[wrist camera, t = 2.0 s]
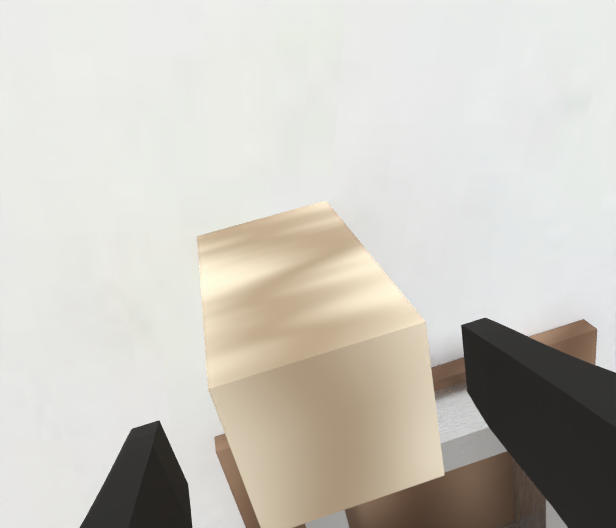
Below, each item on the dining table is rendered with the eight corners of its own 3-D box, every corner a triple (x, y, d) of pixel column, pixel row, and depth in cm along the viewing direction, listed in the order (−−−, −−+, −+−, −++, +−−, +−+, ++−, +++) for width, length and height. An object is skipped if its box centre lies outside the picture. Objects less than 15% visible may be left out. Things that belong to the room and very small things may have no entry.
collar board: (583, 319, 22) (645, 364, 19) (576, 507, 27) (623, 565, 24) (214, 437, 20) (220, 506, 17) (283, 612, 26) (296, 688, 23)
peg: (325, 200, 17) (425, 321, 10) (348, 310, 19) (444, 475, 12) (197, 236, 17) (208, 389, 10) (233, 344, 19) (264, 537, 12)
